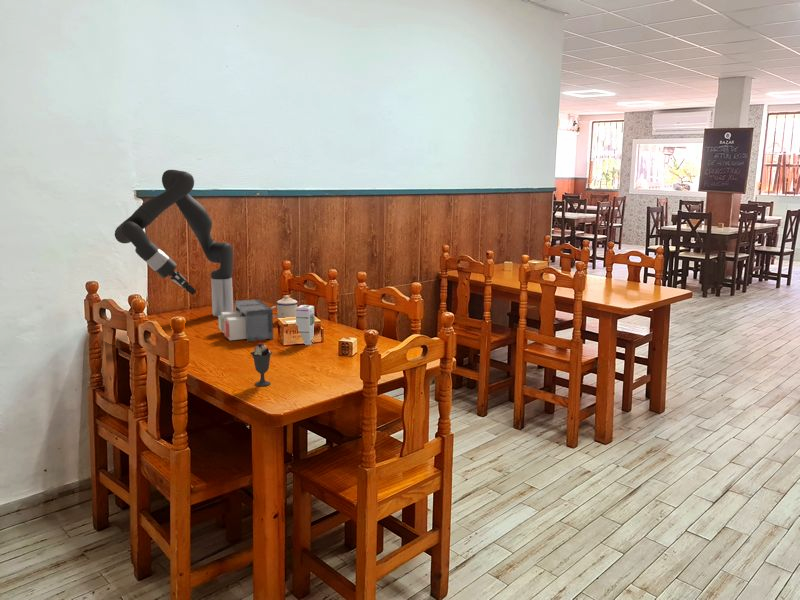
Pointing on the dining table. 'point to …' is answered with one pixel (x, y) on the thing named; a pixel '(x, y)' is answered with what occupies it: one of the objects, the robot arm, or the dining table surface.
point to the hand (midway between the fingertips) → (192, 291)
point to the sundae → (261, 362)
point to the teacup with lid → (285, 307)
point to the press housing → (256, 318)
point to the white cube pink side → (235, 328)
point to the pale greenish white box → (226, 315)
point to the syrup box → (305, 322)
